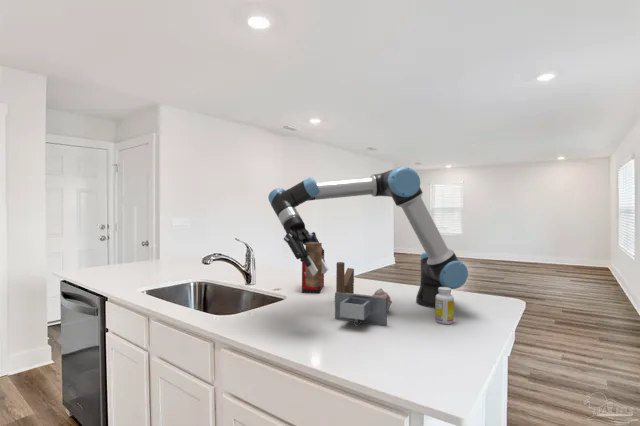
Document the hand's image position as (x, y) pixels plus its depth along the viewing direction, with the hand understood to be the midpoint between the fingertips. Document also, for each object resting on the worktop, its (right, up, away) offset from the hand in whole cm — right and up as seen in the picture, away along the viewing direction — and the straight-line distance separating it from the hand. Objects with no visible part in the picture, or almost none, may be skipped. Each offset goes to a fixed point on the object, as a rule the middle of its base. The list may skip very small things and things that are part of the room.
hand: (320, 272), depth 125 cm
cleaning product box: (-4, -20, +64) cm, 67 cm away
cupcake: (+25, -21, +25) cm, 41 cm away
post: (-2, -5, +3) cm, 6 cm away
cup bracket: (+13, -21, +8) cm, 26 cm away
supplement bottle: (+47, -21, +14) cm, 54 cm away
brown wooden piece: (+11, -20, +43) cm, 49 cm away
